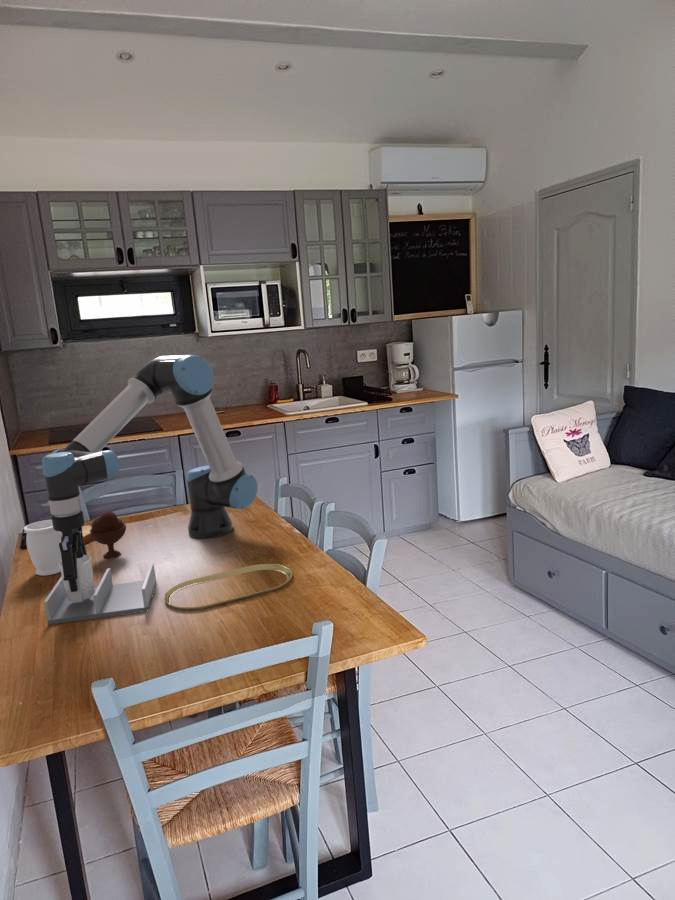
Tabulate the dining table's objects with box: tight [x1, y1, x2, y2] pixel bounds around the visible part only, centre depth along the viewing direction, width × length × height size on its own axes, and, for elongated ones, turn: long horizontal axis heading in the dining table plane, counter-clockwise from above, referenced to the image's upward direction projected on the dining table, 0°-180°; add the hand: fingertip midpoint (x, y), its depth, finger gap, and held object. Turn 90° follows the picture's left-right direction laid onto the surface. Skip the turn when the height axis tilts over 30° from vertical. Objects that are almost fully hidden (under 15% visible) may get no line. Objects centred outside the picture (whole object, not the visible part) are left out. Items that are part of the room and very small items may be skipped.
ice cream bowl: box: [90, 511, 127, 560], centre depth 202 cm, size 11×11×15 cm
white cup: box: [59, 554, 95, 601], centre depth 166 cm, size 8×8×10 cm
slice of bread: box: [82, 524, 95, 545], centre depth 221 cm, size 18×18×4 cm
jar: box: [23, 519, 62, 577], centre depth 192 cm, size 11×10×15 cm
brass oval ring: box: [164, 563, 293, 611], centre depth 172 cm, size 19×35×2 cm, turn 115°
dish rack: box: [43, 562, 157, 626], centre depth 167 cm, size 24×18×6 cm
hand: (81, 595), depth 167 cm, fingers closed on white cup, 7 cm apart
